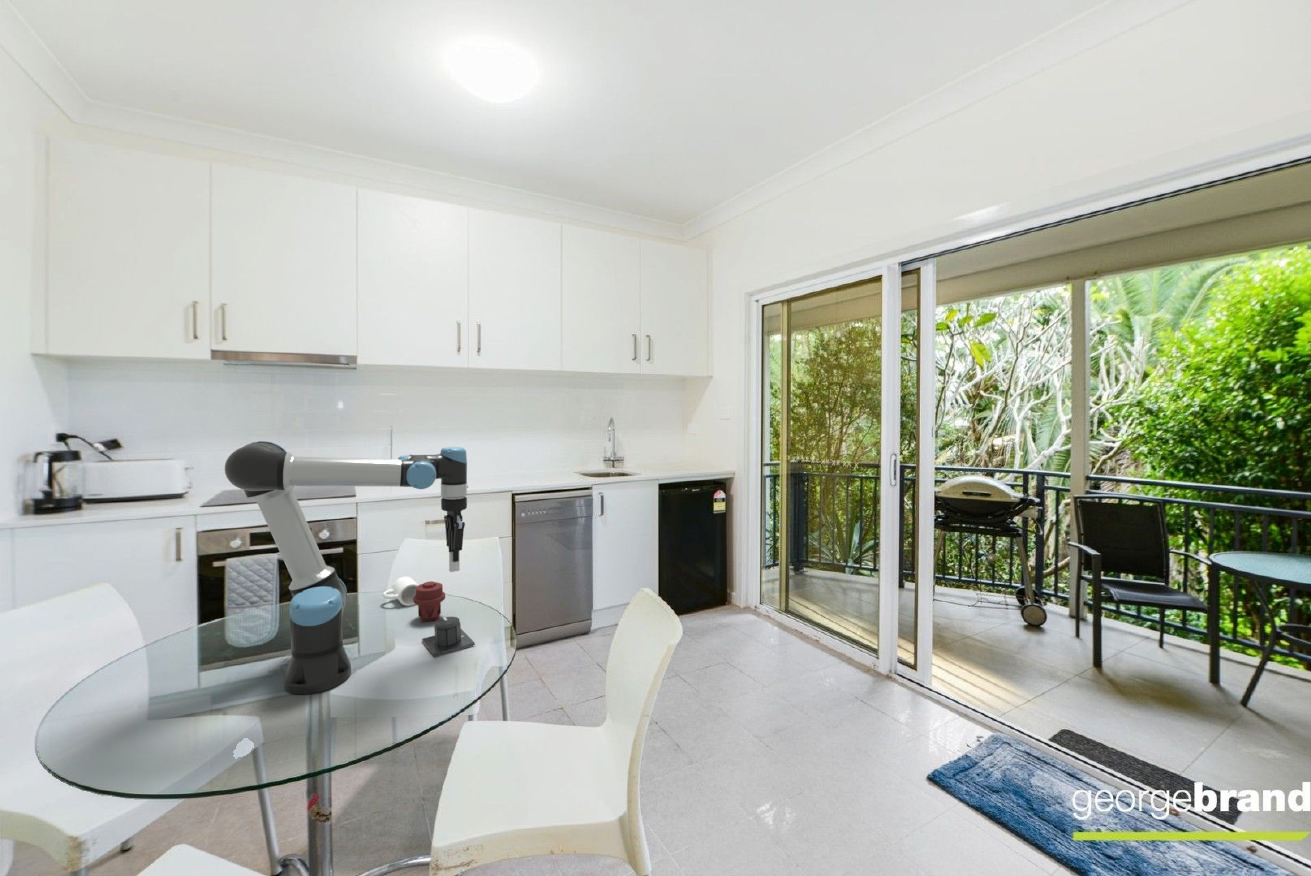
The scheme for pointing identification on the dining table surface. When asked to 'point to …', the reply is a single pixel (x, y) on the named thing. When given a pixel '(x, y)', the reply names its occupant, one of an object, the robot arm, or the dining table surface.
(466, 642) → the metal plate
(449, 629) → the knob
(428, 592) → the mechanical component
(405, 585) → the mug
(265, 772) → the dining table surface
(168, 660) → the dining table surface
